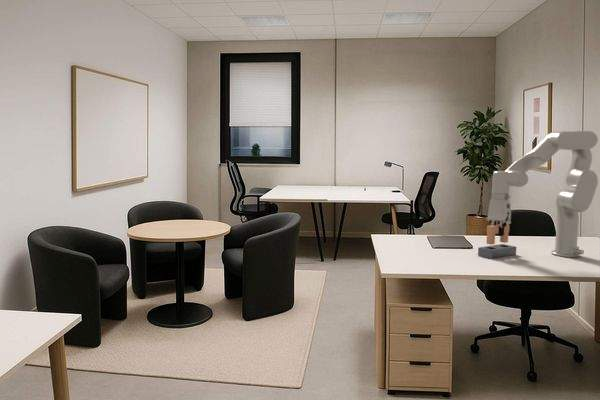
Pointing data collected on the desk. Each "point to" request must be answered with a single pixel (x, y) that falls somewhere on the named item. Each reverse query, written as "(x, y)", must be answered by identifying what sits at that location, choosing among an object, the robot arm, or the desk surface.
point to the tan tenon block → (495, 230)
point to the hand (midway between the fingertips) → (497, 234)
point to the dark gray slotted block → (496, 251)
